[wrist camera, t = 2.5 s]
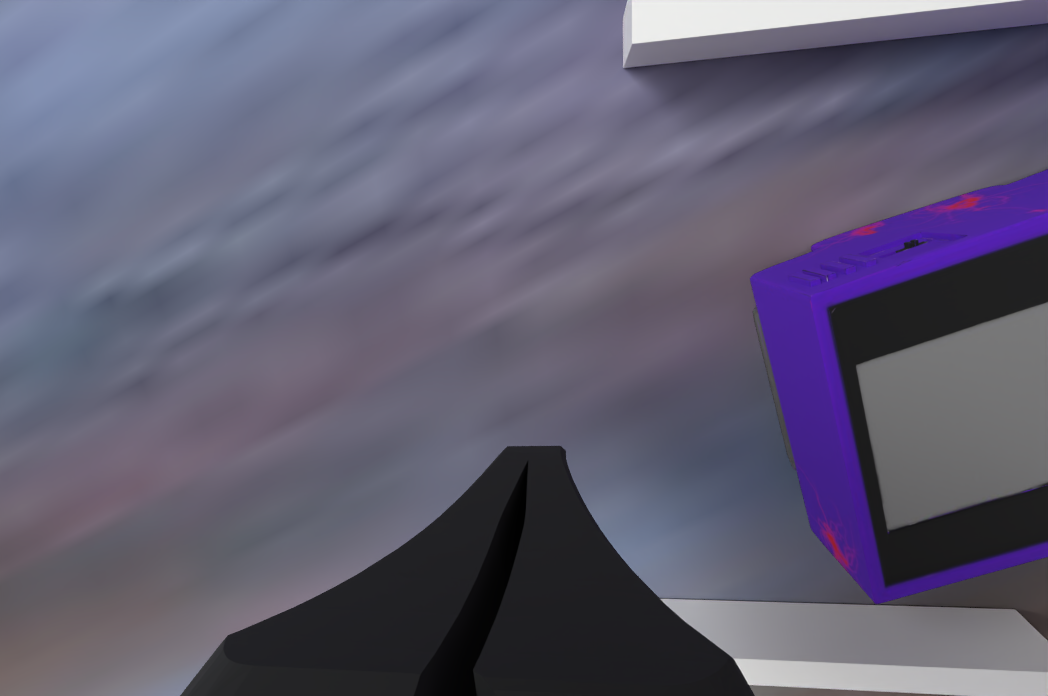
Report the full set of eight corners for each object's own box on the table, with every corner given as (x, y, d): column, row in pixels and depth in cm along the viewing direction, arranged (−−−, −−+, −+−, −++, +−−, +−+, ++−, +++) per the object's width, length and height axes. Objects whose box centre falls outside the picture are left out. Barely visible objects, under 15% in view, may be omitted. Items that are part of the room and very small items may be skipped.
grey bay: (1219, -52, 12) (1381, -112, 9) (1007, 634, 18) (1071, 701, 16) (622, 19, 13) (632, -17, 11) (627, 620, 20) (634, 678, 18)
